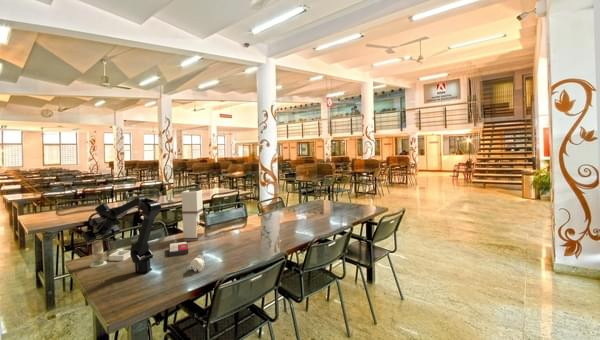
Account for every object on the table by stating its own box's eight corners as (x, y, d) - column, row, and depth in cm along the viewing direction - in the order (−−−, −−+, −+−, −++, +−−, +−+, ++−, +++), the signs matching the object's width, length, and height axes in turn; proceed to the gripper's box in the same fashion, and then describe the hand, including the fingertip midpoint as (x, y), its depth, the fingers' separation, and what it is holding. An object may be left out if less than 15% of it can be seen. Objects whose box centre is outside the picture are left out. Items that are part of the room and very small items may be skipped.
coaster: (110, 262, 173) (110, 261, 173) (100, 267, 165) (100, 266, 165) (97, 262, 173) (96, 261, 173) (86, 267, 165) (86, 266, 165)
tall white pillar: (198, 240, 212) (196, 191, 210) (183, 240, 212) (181, 192, 210) (203, 235, 223) (202, 189, 221) (189, 236, 223) (187, 190, 221)
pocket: (133, 255, 184) (132, 250, 183) (123, 260, 175) (123, 255, 175) (119, 255, 184) (118, 250, 184) (109, 260, 175) (108, 255, 175)
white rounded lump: (191, 267, 163) (190, 254, 163) (208, 267, 163) (207, 254, 162) (185, 272, 156) (184, 259, 155) (203, 272, 155) (202, 259, 155)
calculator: (168, 251, 180) (169, 243, 194) (169, 258, 180) (169, 249, 194) (188, 248, 184) (187, 240, 198) (188, 255, 185) (187, 247, 198)
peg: (104, 261, 172) (103, 239, 171) (102, 264, 167) (100, 242, 166) (94, 262, 170) (93, 240, 170) (91, 265, 166) (90, 243, 165)
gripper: (115, 210, 174) (103, 227, 179) (83, 216, 157) (70, 235, 161) (126, 224, 172) (113, 241, 177) (94, 232, 155) (81, 251, 159)
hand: (95, 241), depth 169 cm, fingers open, 9 cm apart
